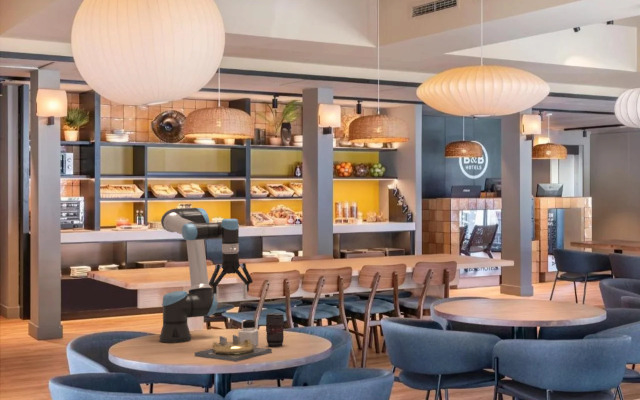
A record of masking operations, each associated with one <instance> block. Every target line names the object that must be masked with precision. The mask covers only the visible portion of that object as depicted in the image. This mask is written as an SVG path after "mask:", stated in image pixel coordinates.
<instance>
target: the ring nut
mask: <svg viewBox="0 0 640 400" xmlns="http://www.w3.org/2000/svg"><path fill="white" fill-rule="evenodd" d="M227 339H228V338H227V337H225V336H223V335H220V336H219V342H216V341H215V342H212V348H213V352H214V353H219V354H242V353H248V352H252V351H254V344H253V343H251V340H244V341H245V342H240V337H239V335H237V334H232V341H228V340H227Z"/></svg>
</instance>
